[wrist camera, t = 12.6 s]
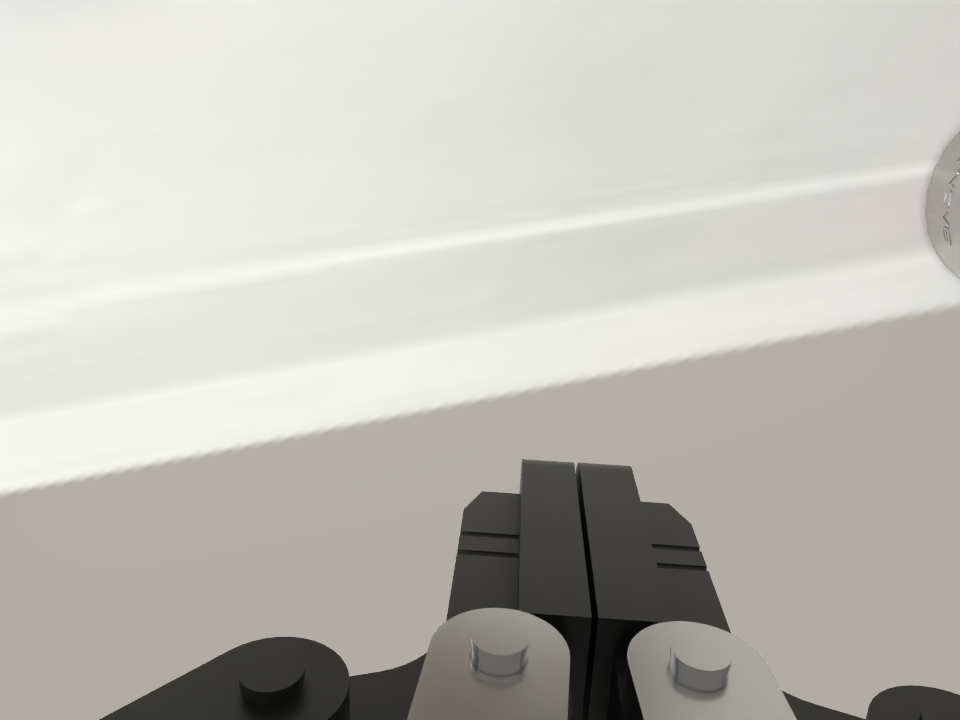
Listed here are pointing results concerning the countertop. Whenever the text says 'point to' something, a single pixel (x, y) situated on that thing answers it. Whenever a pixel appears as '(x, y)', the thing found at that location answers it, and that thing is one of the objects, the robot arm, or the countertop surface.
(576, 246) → the countertop surface
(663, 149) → the countertop surface
